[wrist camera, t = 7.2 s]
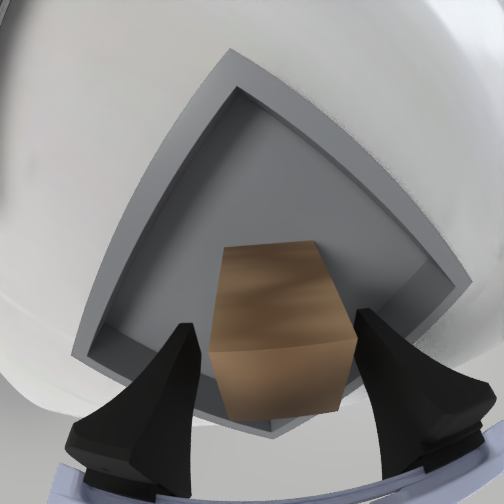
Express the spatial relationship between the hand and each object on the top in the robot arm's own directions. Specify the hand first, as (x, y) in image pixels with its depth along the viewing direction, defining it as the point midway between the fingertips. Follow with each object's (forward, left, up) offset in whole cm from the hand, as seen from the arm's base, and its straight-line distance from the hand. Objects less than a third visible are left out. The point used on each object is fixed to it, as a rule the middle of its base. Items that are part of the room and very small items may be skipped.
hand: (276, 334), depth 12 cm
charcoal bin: (0, +1, -5) cm, 5 cm away
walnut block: (0, 0, -4) cm, 4 cm away
